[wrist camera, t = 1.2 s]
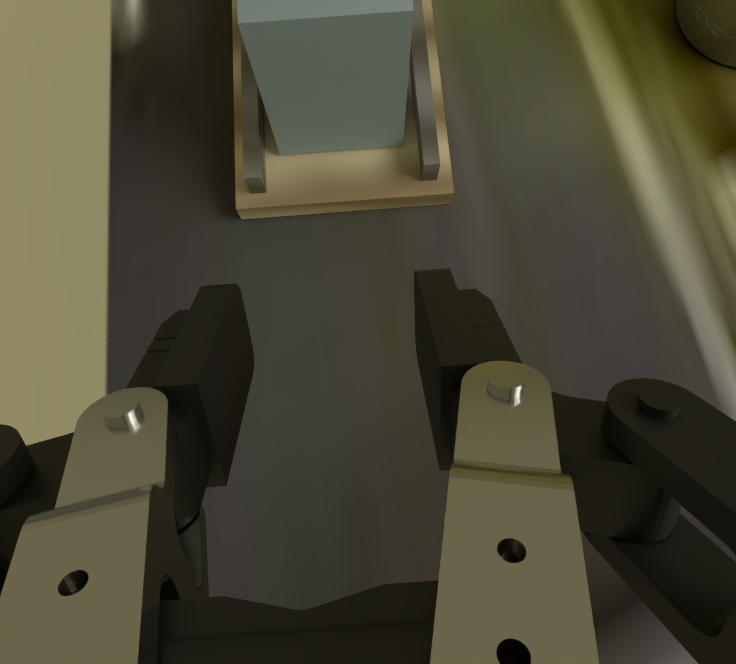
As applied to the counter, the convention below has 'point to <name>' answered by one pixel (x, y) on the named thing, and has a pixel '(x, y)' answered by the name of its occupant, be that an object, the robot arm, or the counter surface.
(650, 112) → the counter surface
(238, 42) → the beige wooden tray
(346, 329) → the counter surface
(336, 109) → the grey rectangular block
